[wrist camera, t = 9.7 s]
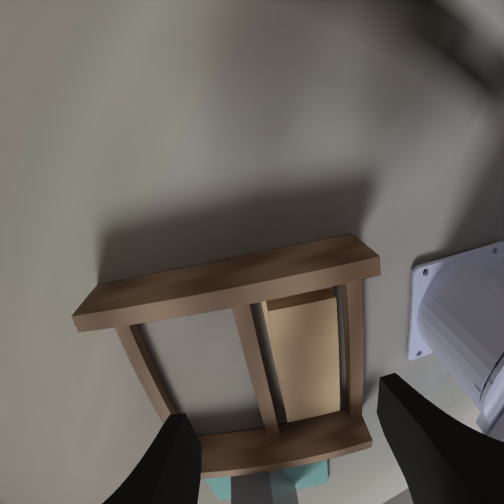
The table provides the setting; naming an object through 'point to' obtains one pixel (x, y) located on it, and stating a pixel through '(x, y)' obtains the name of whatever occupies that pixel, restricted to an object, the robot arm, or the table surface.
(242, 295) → the walnut rack
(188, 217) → the table surface
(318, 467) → the teal mat
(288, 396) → the upper offcut board
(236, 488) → the gray rectangular block
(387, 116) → the table surface
